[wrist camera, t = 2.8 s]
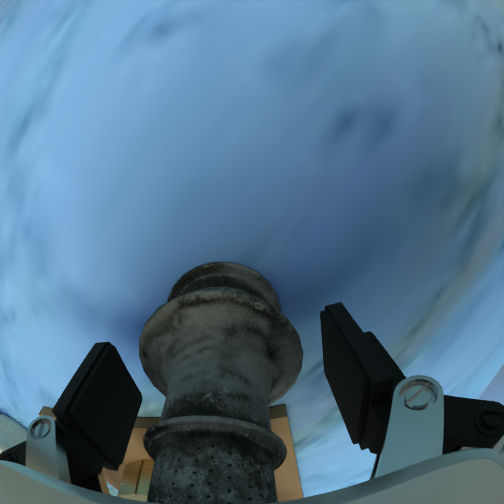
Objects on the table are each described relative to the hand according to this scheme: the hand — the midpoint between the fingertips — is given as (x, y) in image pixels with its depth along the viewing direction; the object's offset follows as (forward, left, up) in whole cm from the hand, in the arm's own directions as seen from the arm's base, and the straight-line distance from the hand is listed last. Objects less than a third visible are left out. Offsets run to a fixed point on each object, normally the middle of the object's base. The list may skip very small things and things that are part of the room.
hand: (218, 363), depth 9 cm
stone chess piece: (0, 0, -4) cm, 4 cm away
